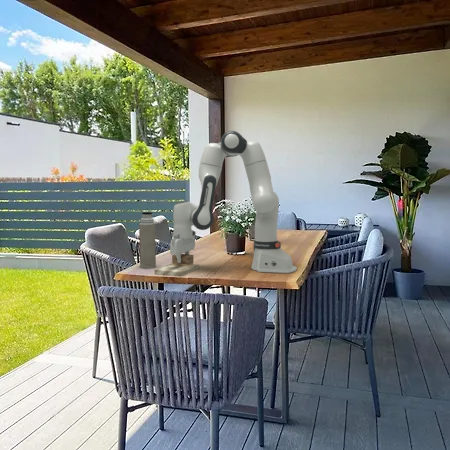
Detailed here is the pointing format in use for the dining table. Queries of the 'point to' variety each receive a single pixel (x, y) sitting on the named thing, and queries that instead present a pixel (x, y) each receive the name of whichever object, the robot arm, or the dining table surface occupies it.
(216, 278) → the dining table surface
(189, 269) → the board
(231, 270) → the dining table surface
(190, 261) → the block
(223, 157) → the robot arm
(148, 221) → the thermos bottle
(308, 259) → the dining table surface
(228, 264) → the dining table surface
